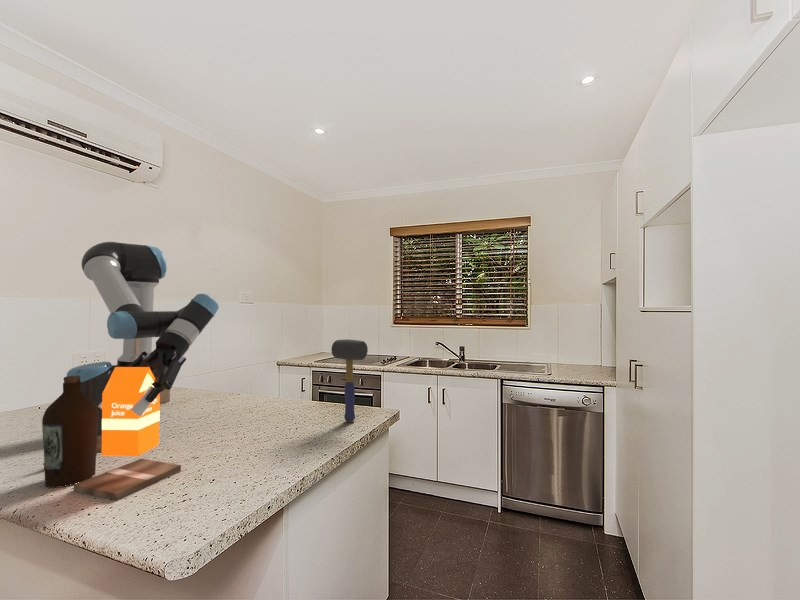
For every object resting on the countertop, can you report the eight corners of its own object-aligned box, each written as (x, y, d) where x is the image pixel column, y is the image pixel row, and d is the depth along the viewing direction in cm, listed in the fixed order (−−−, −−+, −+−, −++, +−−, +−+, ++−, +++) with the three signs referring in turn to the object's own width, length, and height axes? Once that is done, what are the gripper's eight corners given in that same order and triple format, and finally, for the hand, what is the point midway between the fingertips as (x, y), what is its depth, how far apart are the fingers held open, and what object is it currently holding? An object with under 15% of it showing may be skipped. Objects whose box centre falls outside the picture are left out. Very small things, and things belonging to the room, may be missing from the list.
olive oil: (81, 467, 101) (82, 372, 102) (108, 473, 97) (109, 374, 98) (31, 484, 91) (32, 379, 92) (58, 492, 87) (59, 381, 88)
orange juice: (125, 444, 97) (126, 364, 98) (159, 444, 97) (160, 364, 97) (100, 455, 89) (101, 369, 90) (137, 456, 89) (138, 369, 90)
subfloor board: (73, 491, 88) (73, 484, 88) (141, 464, 103) (141, 458, 103) (116, 500, 83) (116, 493, 83) (180, 471, 98) (180, 464, 98)
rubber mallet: (329, 421, 140) (329, 339, 141) (342, 416, 147) (342, 338, 147) (357, 427, 134) (356, 340, 135) (369, 421, 140) (369, 339, 141)
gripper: (217, 349, 105) (165, 423, 89) (155, 347, 112) (97, 415, 97) (201, 330, 100) (143, 406, 84) (138, 330, 107) (74, 399, 92)
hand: (119, 411), depth 91 cm, fingers closed on orange juice, 10 cm apart
